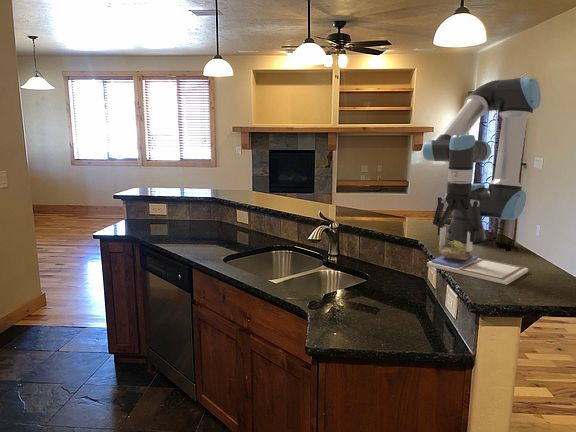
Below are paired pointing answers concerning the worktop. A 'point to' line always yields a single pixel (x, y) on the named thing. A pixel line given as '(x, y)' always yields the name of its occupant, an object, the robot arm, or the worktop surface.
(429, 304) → the worktop surface
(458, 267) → the board
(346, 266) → the worktop surface
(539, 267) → the worktop surface
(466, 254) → the rock
